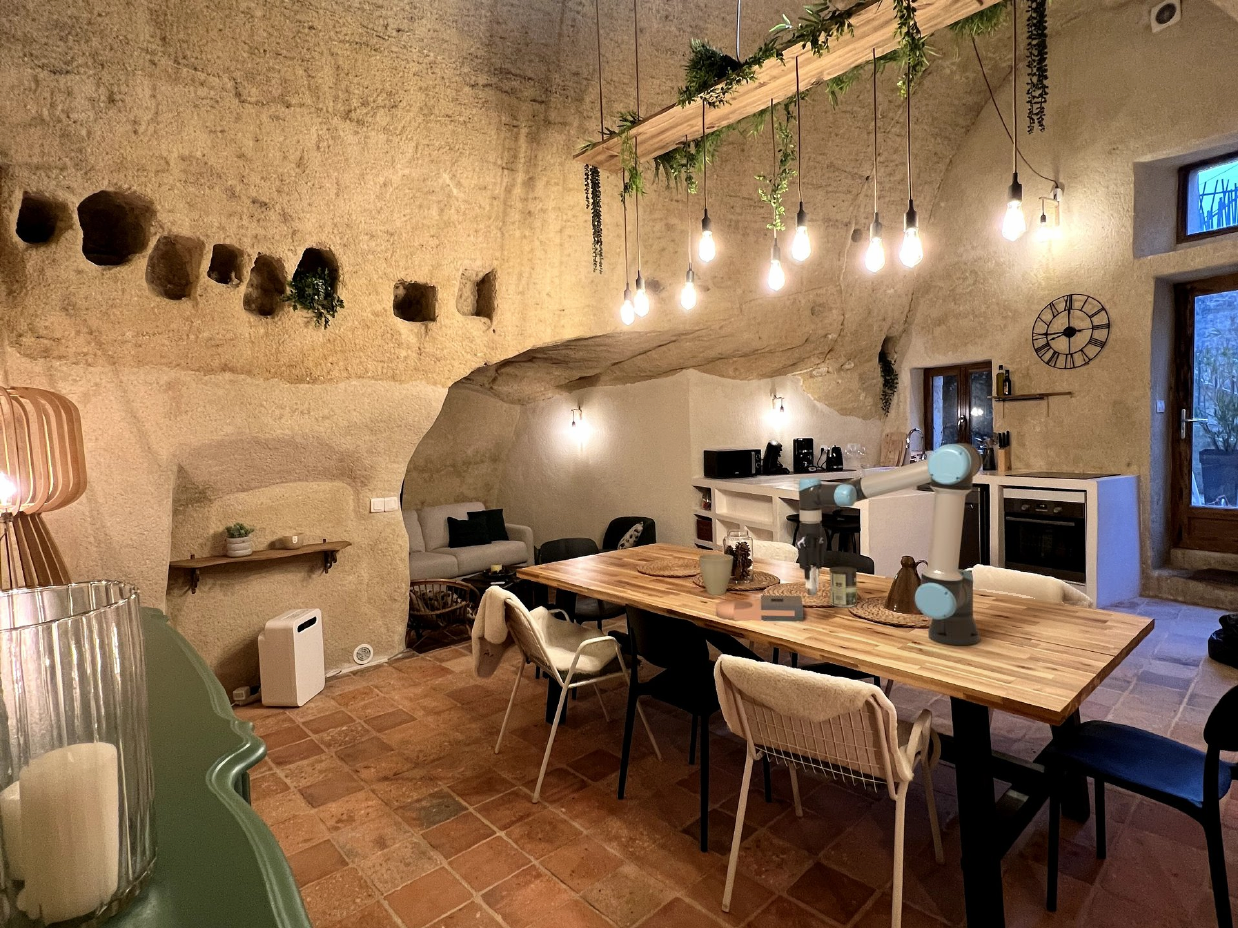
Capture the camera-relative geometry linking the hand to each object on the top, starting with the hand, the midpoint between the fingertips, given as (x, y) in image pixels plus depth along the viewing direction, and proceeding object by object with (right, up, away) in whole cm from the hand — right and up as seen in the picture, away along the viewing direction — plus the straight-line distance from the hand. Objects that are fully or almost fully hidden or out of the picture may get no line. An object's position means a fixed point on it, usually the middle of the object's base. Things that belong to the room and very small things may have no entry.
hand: (812, 587), depth 245 cm
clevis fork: (-7, -14, +16) cm, 22 cm away
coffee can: (+21, -12, +29) cm, 38 cm away
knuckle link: (-17, -14, +18) cm, 28 cm away
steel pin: (0, -3, 0) cm, 3 cm away
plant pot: (-26, -12, +54) cm, 62 cm away
